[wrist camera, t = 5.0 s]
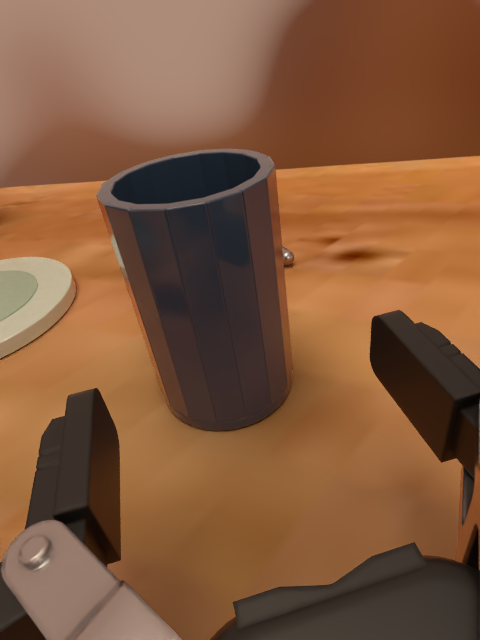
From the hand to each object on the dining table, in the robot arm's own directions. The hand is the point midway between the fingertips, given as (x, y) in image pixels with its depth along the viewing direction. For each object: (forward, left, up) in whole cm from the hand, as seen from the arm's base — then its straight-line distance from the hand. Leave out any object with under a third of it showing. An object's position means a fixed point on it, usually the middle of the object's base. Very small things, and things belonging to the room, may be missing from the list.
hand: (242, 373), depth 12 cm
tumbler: (+2, +6, -6) cm, 9 cm away
